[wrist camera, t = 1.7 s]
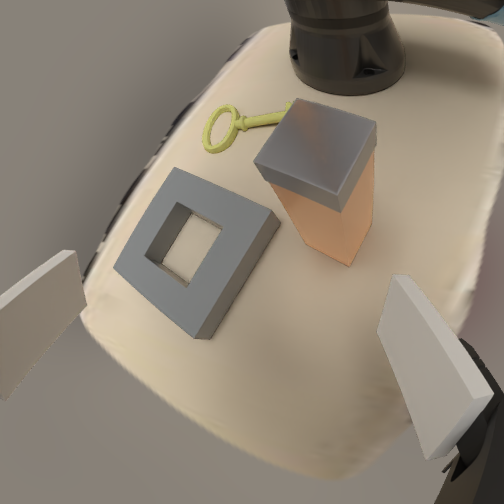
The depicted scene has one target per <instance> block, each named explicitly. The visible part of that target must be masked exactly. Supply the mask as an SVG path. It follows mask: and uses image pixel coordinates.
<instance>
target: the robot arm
mask: <svg viewBox="0 0 504 504" xmlns="http://www.w3.org/2000/svg"><path fill="white" fill-rule="evenodd" d="M284 1H285V4H286V6H287V9H288V11H289V14H290V17H291V34H290V49H289V54H290V59H291V62H292V65H293V68H294V71H295V73H296V74H297V76H298V77H299V78H300V79H301V80H302V81H303V82H304V83H306V84H307V85H309V86H311V87H313V88H315V89H318V90H321V91H324V92H328V93H333V94H340V95H362V94H369V93H373V92H377V91H380V90H383V89H385V88H387V87H389V86H391V85H393V84H394V83H395V82H397V81H398V80H399V78H400V77H401V76H402V74H403V72H404V69H405V50H404V46H403V44H402V41H401V39H400V37H399V34H398V32H397V30H396V28H395V25H394V23H393V21H392V19H391V17H390V15H389V9H388V1H395V2H403V3H409V4H416V5H422V6H427V7H433V8H438V9H442V10H447V11H451V12H455V13H459V14H464V15H467V16H469V17H470V18H472V19H475V20H478V21H488V22H491V23H495V24H498V25H502V26H504V0H284ZM86 306H87V303H86V299H85V294H84V290H83V285H82V280H81V275H80V270H79V265H78V259H77V253H76V251H71V250H63V251H61V252H59V253H58V254H57V255H55V256H54V257H52V258H51V259H49V260H48V261H46V262H45V263H44V264H42V265H41V266H40V267H38V268H37V269H35V270H34V271H32V272H31V273H30V274H28V275H27V276H26V277H24V278H23V279H22V280H20V281H19V282H18V283H16V284H15V285H14V286H13V287H11V288H10V289H9V290H7V291H6V292H5V293H4V294H2V295H1V296H0V398H1V399H2V400H4V401H7V399H8V398H9V396H10V395H11V394H12V393H13V391H14V390H15V389H16V388H17V386H18V385H19V384H20V382H21V381H22V380H23V379H24V377H25V376H26V375H27V374H28V372H29V371H30V370H31V369H32V367H33V366H34V365H35V364H36V363H37V361H38V360H39V359H40V358H41V357H42V355H43V354H44V353H45V352H46V351H47V350H48V348H49V347H50V346H51V345H52V344H53V343H54V341H55V340H56V339H57V338H58V337H59V336H60V335H61V334H62V332H63V331H64V330H65V329H66V328H67V327H68V326H69V325H70V323H71V322H72V321H73V320H74V319H75V318H76V317H77V316H78V315H79V314H80V312H81V311H82V310H83V309H84V308H85V307H86ZM376 332H377V334H378V336H379V339H380V341H381V343H382V346H383V348H384V350H385V353H386V355H387V358H388V360H389V362H390V365H391V367H392V370H393V372H394V375H395V377H396V380H397V382H398V385H399V387H400V390H401V392H402V395H403V398H404V400H405V403H406V406H407V408H408V411H409V414H410V416H411V419H412V422H413V425H414V428H415V430H416V433H417V436H418V439H419V442H420V445H421V448H422V451H423V454H424V458H425V461H428V460H432V459H436V458H440V457H443V456H446V455H447V454H448V453H449V452H450V451H451V450H452V449H453V447H454V446H455V445H457V448H458V450H459V453H458V454H457V455H456V456H455V457H454V459H452V461H451V462H450V463H449V464H448V465H447V466H446V467H445V468H444V470H443V471H442V472H443V473H445V472H446V471H447V470H448V469H449V468H450V467H451V468H450V471H449V473H448V475H447V477H446V480H445V482H444V484H443V486H442V488H441V491H440V493H439V495H438V497H437V499H436V501H435V503H434V504H504V393H503V392H502V390H501V388H500V387H499V385H498V384H497V382H496V381H495V379H494V378H493V376H492V375H491V373H490V372H489V370H488V369H487V368H485V364H484V363H483V361H482V360H481V359H479V356H478V354H477V353H476V351H475V350H474V348H473V347H472V346H471V345H469V344H468V343H467V342H466V341H464V340H463V339H462V338H461V339H458V338H457V337H456V335H455V334H454V332H453V331H452V330H451V328H450V327H449V326H448V324H447V323H446V322H445V320H444V319H443V318H442V316H441V315H440V314H439V312H438V311H437V310H436V308H435V307H434V306H433V304H432V303H431V302H430V301H429V299H428V298H427V297H426V296H425V294H424V293H423V292H422V291H421V289H420V288H419V287H418V286H417V284H416V283H415V282H414V281H413V279H412V278H411V277H410V276H409V275H399V274H392V278H391V282H390V286H389V289H388V293H387V297H386V301H385V304H384V308H383V311H382V315H381V318H380V321H379V324H378V328H377V331H376Z"/></svg>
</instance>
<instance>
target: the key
mask: <svg viewBox="0 0 504 504" xmlns="http://www.w3.org/2000/svg"><path fill="white" fill-rule="evenodd" d="M293 102H294V101H293ZM291 105H292V103H290V102H286V109H285V111H282V112H276V113H270V114H265V115H259V116H254V117H249V118H247V117H246V116H241V117H240V116H239V113H238V111H237V109H236V108H235V107H233V106H232V105H223V106H220V107H219V108H217V109H216V110H215V111H214V112H213V113H212V115H211V116H210V117H209V119H208V121H207V123H206V125H205V128H204V131H203V136H202V143H203V146H204V148H205V150H206V151H208V152H209V153H219V152H222V151H224V150H225V149H227V148H228V147H229V146H230V145H231V144H232V142H233V141H234V139H235V138H236V135H237V133H238V130H239V129H242V130H243V131H247V130H248V128H249V127H254V126H260V125H266V124H272V123H278V122H280V121H281V120H282V118H283V117H284V115H285V114H286V112H287V111H288V110H289V108H290V107H291ZM224 112H231V113H232V120H231V124H230V128H229V130H228V132H227V134H226V136H225V137H224V139H223V140H222V141H221V142H220V143H218V144H217V145H214V146H211V143H210V132H211V129H212V126H213V124H214V122H215V121H216V119H217V118H218V117H219V115H221V114H222V113H224Z"/></svg>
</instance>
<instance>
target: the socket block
mask: <svg viewBox="0 0 504 504" xmlns="http://www.w3.org/2000/svg"><path fill="white" fill-rule="evenodd" d="M191 213H193V214H195V215H197V216H198V217H200V218H202V219H204V220H206V221H208V222H209V223H211V224H213V225H215V226H217V227H219V228H220V229H222V230H221V232H220V234H219V235H218V237H217V239H216V240H215V242H214V243H213V245H212V247H211V248H210V250H209V252H208V253H207V255H206V257H205V258H204V260H203V261H202V263H201V265H200V266H199V268H198V270H197V271H196V273H195V275H194V276H193V278H192V280H191V281H190V283H189V284H188V283H187V282H185V281H184V280H183V279H181V278H180V277H178V276H177V275H176V274H174V273H173V272H172V271H170V270H169V269H168V268H166V267H165V266H164V265H162V264H161V262H162V260H163V258H164V257H165V255H166V253H167V252H168V250H169V248H170V247H171V245H172V243H173V242H174V240H175V238H176V237H177V235H178V233H179V232H180V230H181V229H182V227H183V225H184V224H185V222H186V221H187V219H188V217H189V216H190V214H191ZM279 225H280V221H279V220H278V218H277V217H276V215H275V214H274V213H273V211H272V210H270V209H268V208H266V207H264V206H262V205H260V204H257V203H255V202H253V201H251V200H249V199H247V198H244V197H242V196H240V195H238V194H236V193H233V192H231V191H229V190H227V189H224V188H222V187H220V186H218V185H215V184H213V183H211V182H209V181H206V180H204V179H202V178H199V177H197V176H195V175H193V174H190V173H188V172H186V171H183V170H181V169H178V168H176V167H174V168H173V169H172V171H171V172H170V174H169V175H168V177H167V178H166V180H165V181H164V183H163V184H162V186H161V188H160V189H159V191H158V192H157V194H156V195H155V197H154V198H153V200H152V202H151V203H150V205H149V206H148V208H147V210H146V211H145V213H144V214H143V216H142V218H141V219H140V221H139V223H138V224H137V226H136V228H135V229H134V231H133V233H132V235H131V236H130V238H129V240H128V241H127V243H126V245H125V247H124V249H123V250H122V252H121V254H120V256H119V257H118V259H117V261H116V263H115V265H114V267H113V268H114V269H115V270H116V271H117V272H118V273H119V274H120V275H121V276H122V277H123V278H124V279H125V280H126V281H127V282H128V283H130V284H131V285H132V286H133V287H134V288H135V289H136V290H137V291H138V292H139V293H141V294H142V295H143V296H144V297H145V298H146V299H147V300H148V301H150V302H151V303H152V304H153V305H154V306H155V307H156V308H158V309H159V310H160V311H161V312H162V313H163V314H165V315H166V316H167V317H168V318H169V319H170V320H172V321H173V322H174V323H175V324H176V325H178V326H179V327H180V328H181V329H183V330H184V331H185V332H186V333H187V334H189V335H190V336H191V337H192V338H194V339H209V340H210V338H211V337H212V335H213V333H214V332H215V330H216V329H217V327H218V325H219V324H220V322H221V320H222V319H223V317H224V315H225V314H226V312H227V311H228V309H229V307H230V306H231V304H232V302H233V301H234V299H235V297H236V296H237V294H238V292H239V291H240V289H241V288H242V286H243V284H244V283H245V281H246V279H247V278H248V276H249V274H250V273H251V271H252V269H253V268H254V266H255V264H256V263H257V261H258V259H259V258H260V256H261V255H262V253H263V251H264V250H265V248H266V246H267V245H268V243H269V241H270V240H271V238H272V236H273V235H274V233H275V231H276V230H277V228H278V226H279Z"/></svg>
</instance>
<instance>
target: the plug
mask: <svg viewBox="0 0 504 504" xmlns="http://www.w3.org/2000/svg"><path fill="white" fill-rule="evenodd" d="M375 146H376V121H373V120H370V119H367V118H364V117H361V116H358V115H355V114H352V113H349V112H345V111H342V110H339V109H336V108H332V107H329V106H325V105H322V104H318V103H314V102H311V101H307V100H303V99H299V98H296V100H295V101H294V102H293V104H292V105H291V107H290V108H289V110H288V111H287V112H286V114H285V115H284V117H283V118H282V120H281V121H280V122H279V124H278V125H277V127H276V128H275V130H274V131H273V133H272V134H271V136H270V137H269V138H268V140H267V141H266V143H265V144H264V146H263V147H262V149H261V150H260V152H259V153H258V155H257V156H256V158H255V159H254V161H253V162H254V164H255V165H256V167H257V168H258V170H259V172H260V173H261V175H262V176H263V178H264V179H265V180H266V181H268V182H269V183H270V185H271V186H272V188H273V189H274V191H275V193H276V194H277V196H278V198H279V199H280V201H281V203H282V204H283V206H284V208H285V209H286V211H287V213H288V214H289V216H290V218H291V220H292V221H293V223H294V225H295V226H296V228H297V230H298V232H299V233H300V235H301V237H302V238H303V240H304V242H305V244H306V245H308V246H310V247H312V248H314V249H316V250H318V251H320V252H322V253H324V254H326V255H327V256H329V257H331V258H333V259H335V260H337V261H339V262H341V263H343V264H345V265H347V266H348V267H350V265H351V263H352V261H353V259H354V257H355V255H356V253H357V252H358V250H359V248H360V246H361V244H362V242H363V240H364V238H365V236H366V234H367V232H368V230H369V228H370V226H371V224H372V211H373V190H374V148H375Z"/></svg>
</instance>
